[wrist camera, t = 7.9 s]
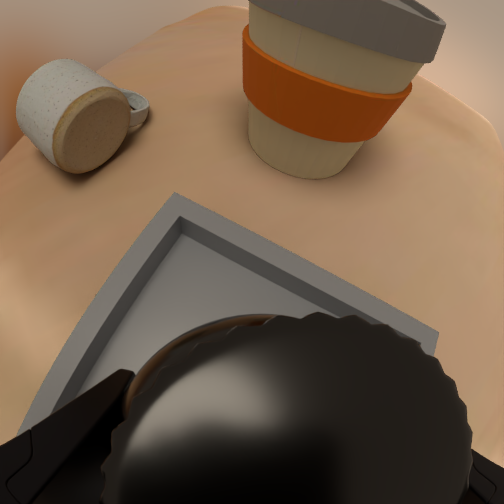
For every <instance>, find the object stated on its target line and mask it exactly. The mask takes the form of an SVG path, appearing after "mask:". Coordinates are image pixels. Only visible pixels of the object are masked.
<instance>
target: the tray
mask: <svg viewBox="0 0 504 504" xmlns="http://www.w3.org/2000/svg"><path fill="white" fill-rule="evenodd" d="M317 311H318V312H322V313H325V314H328V315H331V316H333V317H335V318H341V317H344V316H348V315H357V316H359V317H361V318H363V319H364V320H366V321H367V322H369V323H370V324H388V325H389V326H390V327H392V328H393V329H394V330H395V331H396V333H397V334H399V335H400V336H401V337H407V338H411V339H415V340H416V341H417V342H418V344H419V345H420V346H421V348H422V350H423V351H424V352H425V354H428V355H431V356H434V352H435V348H436V344H437V339H438V335H439V332H438V331H436V330H434V329H432V328H431V327H429V326H427V325H425V324H423V323H422V322H420V321H418V320H416V319H415V318H413V317H411V316H409V315H407V314H405V313H404V312H402V311H400V310H398V309H396V308H395V307H393V306H391V305H389V304H387V303H385V302H384V301H382V300H380V299H378V298H376V297H375V296H373V295H371V294H369V293H367V292H365V291H363V290H362V289H360V288H358V287H356V286H354V285H352V284H351V283H349V282H347V281H345V280H343V279H341V278H339V277H338V276H336V275H334V274H332V273H330V272H328V271H326V270H324V269H323V268H321V267H319V266H317V265H315V264H313V263H311V262H309V261H308V260H306V259H304V258H302V257H300V256H298V255H296V254H294V253H292V252H290V251H289V250H287V249H285V248H283V247H281V246H279V245H277V244H275V243H273V242H271V241H269V240H268V239H266V238H264V237H262V236H260V235H258V234H256V233H254V232H252V231H250V230H248V229H246V228H244V227H242V226H241V225H239V224H237V223H235V222H233V221H231V220H229V219H227V218H225V217H223V216H221V215H219V214H217V213H215V212H213V211H211V210H209V209H207V208H205V207H203V206H201V205H199V204H197V203H195V202H194V201H192V200H190V199H188V198H186V197H184V196H182V195H180V194H178V193H176V192H174V193H173V194H172V196H171V197H170V198H169V199H168V200H167V202H166V203H165V204H164V205H163V206H162V208H161V209H160V210H159V211H158V213H157V214H156V215H155V216H154V218H153V219H152V220H151V221H150V223H149V224H148V225H147V226H146V228H145V229H144V230H143V231H142V233H141V234H140V235H139V237H138V238H137V239H136V241H135V242H134V243H133V245H132V246H131V247H130V249H129V250H128V251H127V253H126V254H125V255H124V257H123V258H122V259H121V261H120V262H119V263H118V265H117V266H116V268H115V269H114V270H113V272H112V273H111V275H110V276H109V277H108V279H107V280H106V282H105V283H104V285H103V286H102V287H101V289H100V290H99V292H98V293H97V295H96V296H95V298H94V299H93V301H92V302H91V304H90V305H89V307H88V308H87V310H86V311H85V313H84V314H83V316H82V317H81V319H80V321H79V322H78V324H77V325H76V327H75V328H74V330H73V332H72V333H71V335H70V337H69V338H68V340H67V341H66V343H65V345H64V346H63V348H62V350H61V351H60V353H59V355H58V357H57V358H56V360H55V362H54V363H53V365H52V367H51V369H50V371H49V372H48V374H47V376H46V378H45V380H44V381H43V383H42V385H41V387H40V389H39V391H38V393H37V395H36V396H35V398H34V400H33V402H32V404H31V406H30V408H29V410H28V412H27V414H26V416H25V418H24V420H23V423H22V425H21V427H20V429H19V431H18V433H17V436H18V435H20V434H21V433H23V432H24V431H26V430H28V429H31V427H32V426H34V425H36V424H37V423H39V422H40V421H42V420H43V419H45V418H46V417H48V416H49V415H51V414H52V413H54V412H55V411H57V410H58V409H60V408H62V407H63V406H65V405H66V404H68V403H69V402H71V401H72V400H74V399H75V398H77V397H78V396H80V395H81V394H83V393H84V392H86V391H87V390H89V389H90V388H92V387H93V386H95V385H96V384H98V383H99V382H100V381H102V380H103V379H105V378H106V377H108V376H109V375H111V374H112V373H114V372H115V371H117V370H118V369H121V368H122V369H127V370H131V371H133V372H135V375H136V374H137V373H138V371H139V370H140V369H141V368H142V366H143V365H144V364H145V363H146V362H147V361H148V360H149V359H150V358H151V357H152V356H153V355H154V354H155V353H156V352H157V351H158V350H159V349H161V348H162V347H163V346H165V345H166V344H167V343H169V342H170V341H171V340H173V339H175V338H176V337H178V336H180V335H181V334H183V333H185V332H187V331H189V330H191V329H193V328H195V327H197V326H200V325H203V324H205V323H208V322H211V321H214V320H218V319H221V318H226V317H231V316H236V315H245V314H278V315H285V316H292V317H296V318H300V319H301V318H303V317H304V316H306V315H308V314H311V313H314V312H317Z"/></svg>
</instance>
